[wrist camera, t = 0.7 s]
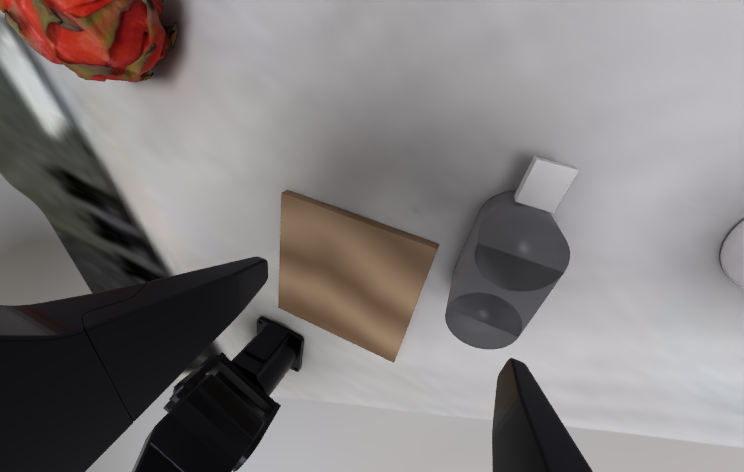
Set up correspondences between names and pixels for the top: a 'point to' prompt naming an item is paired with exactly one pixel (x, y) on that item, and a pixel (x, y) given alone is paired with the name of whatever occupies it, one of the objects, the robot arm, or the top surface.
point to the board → (350, 273)
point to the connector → (510, 259)
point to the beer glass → (734, 255)
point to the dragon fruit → (95, 35)
